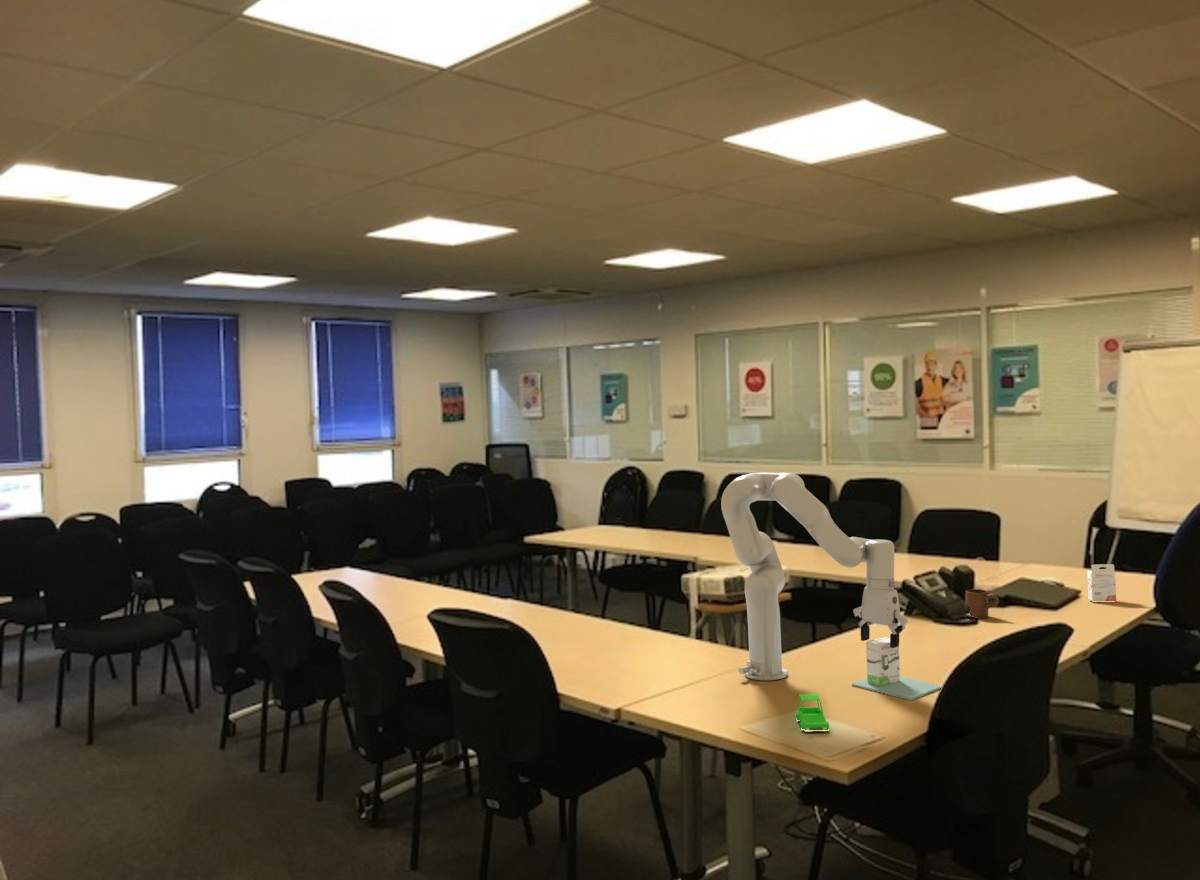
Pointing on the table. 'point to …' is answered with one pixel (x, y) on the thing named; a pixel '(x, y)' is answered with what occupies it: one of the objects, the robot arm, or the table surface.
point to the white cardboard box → (882, 662)
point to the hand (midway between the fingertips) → (879, 643)
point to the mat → (901, 688)
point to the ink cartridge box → (1101, 583)
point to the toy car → (811, 714)
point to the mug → (980, 602)
